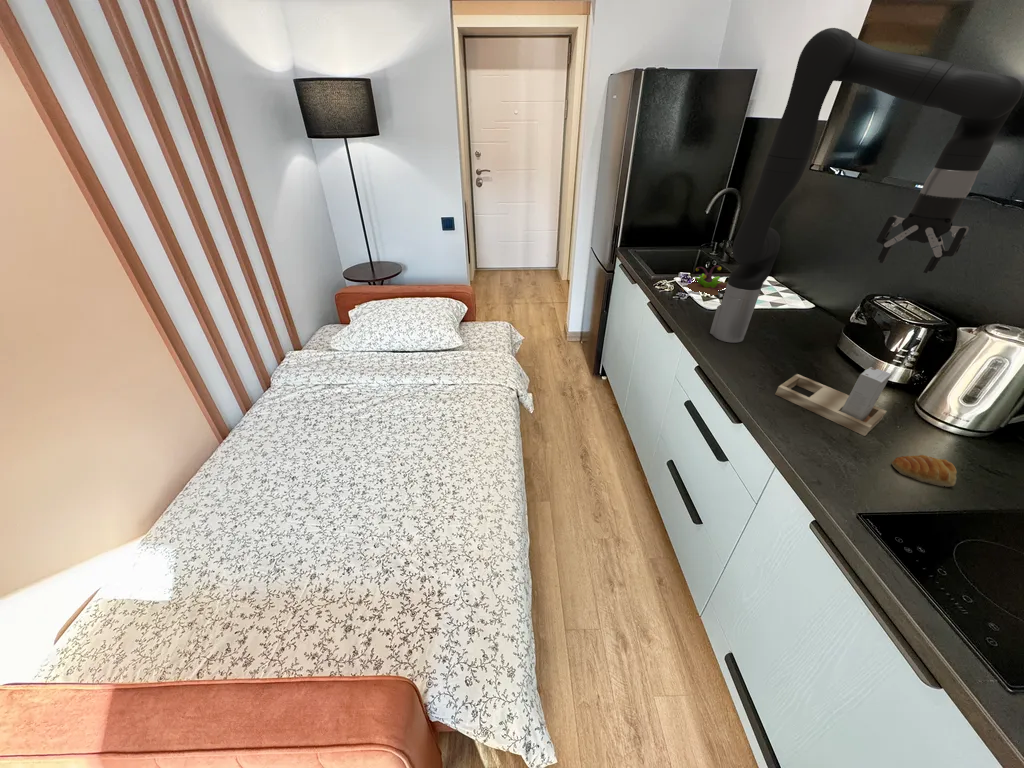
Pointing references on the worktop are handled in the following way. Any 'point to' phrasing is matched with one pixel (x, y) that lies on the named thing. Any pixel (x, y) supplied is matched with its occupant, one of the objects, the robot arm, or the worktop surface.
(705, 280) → the plant
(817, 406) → the wooden compartment tray
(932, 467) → the pastry
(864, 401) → the skincare box
